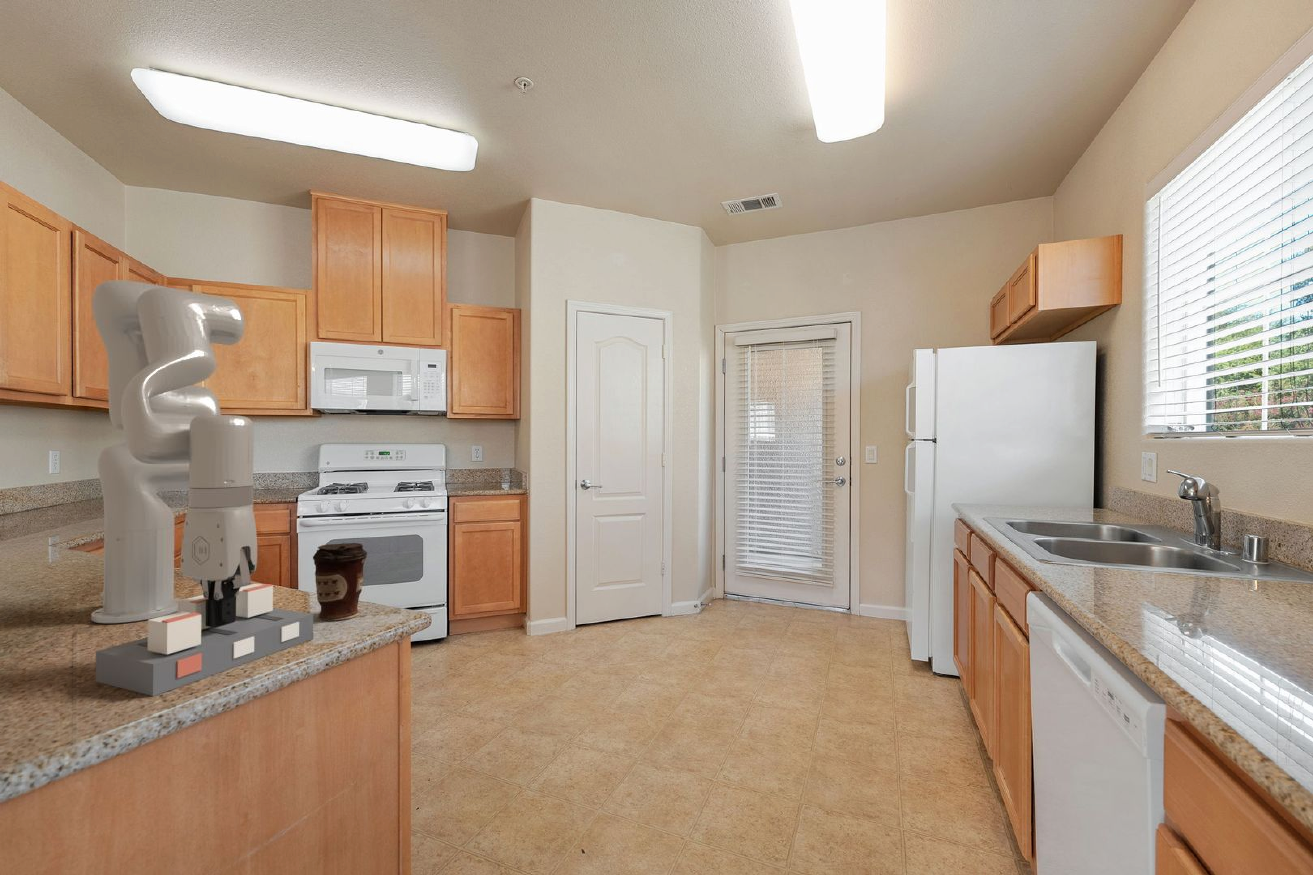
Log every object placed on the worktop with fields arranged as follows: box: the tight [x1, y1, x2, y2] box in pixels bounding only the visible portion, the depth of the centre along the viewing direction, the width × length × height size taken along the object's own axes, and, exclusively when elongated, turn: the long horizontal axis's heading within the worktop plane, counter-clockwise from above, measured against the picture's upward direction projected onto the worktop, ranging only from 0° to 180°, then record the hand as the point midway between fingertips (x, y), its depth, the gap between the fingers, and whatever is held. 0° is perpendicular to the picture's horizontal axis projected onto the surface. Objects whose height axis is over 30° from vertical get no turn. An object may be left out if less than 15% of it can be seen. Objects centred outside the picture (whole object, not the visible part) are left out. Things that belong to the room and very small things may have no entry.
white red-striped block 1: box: [176, 594, 209, 630], centre depth 85 cm, size 4×4×4 cm
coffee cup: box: [312, 542, 368, 621], centre depth 103 cm, size 9×8×13 cm
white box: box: [147, 611, 201, 654], centre depth 76 cm, size 4×4×4 cm
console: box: [95, 607, 314, 697], centre depth 84 cm, size 12×22×4 cm, turn 160°
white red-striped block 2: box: [236, 583, 274, 618], centre depth 91 cm, size 4×4×4 cm
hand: (220, 624), depth 83 cm, fingers closed
